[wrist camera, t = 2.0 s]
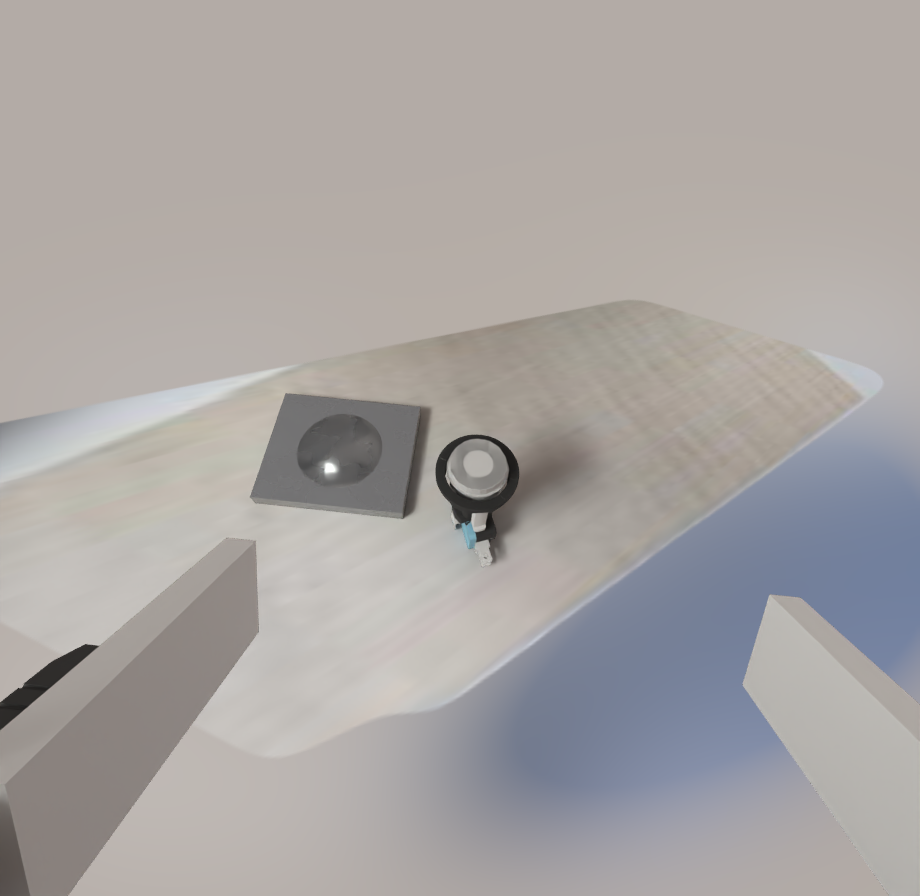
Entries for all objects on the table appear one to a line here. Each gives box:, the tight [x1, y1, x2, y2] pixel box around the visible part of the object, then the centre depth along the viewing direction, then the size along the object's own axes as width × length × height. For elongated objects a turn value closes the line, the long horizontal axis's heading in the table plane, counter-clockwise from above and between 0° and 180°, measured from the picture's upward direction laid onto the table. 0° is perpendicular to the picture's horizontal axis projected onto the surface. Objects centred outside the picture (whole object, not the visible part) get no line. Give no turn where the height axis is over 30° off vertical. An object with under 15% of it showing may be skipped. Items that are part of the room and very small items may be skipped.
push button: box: [436, 435, 519, 567], centre depth 33 cm, size 7×5×10 cm
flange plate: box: [250, 393, 421, 519], centre depth 40 cm, size 12×10×1 cm
